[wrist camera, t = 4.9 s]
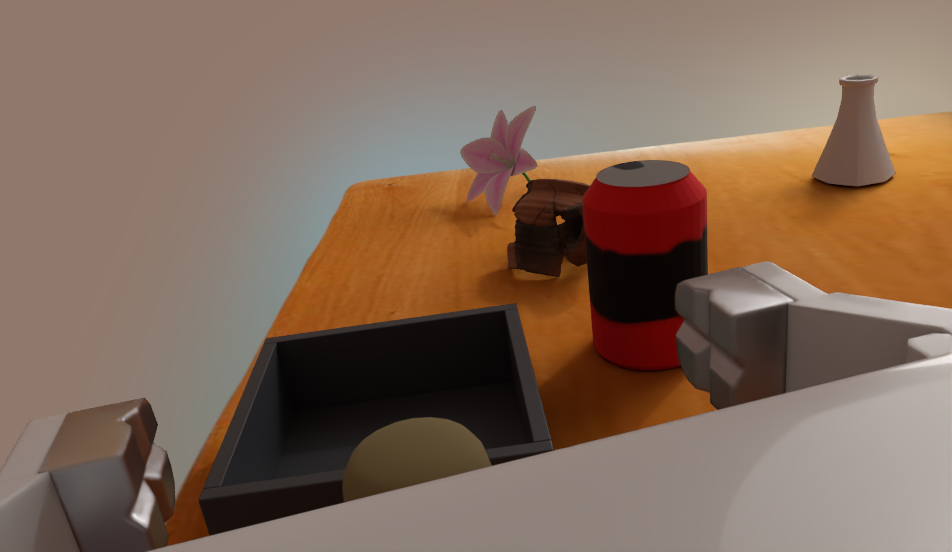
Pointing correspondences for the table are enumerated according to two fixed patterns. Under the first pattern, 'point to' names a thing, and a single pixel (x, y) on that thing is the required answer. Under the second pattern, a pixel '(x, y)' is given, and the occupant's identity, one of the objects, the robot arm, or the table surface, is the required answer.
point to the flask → (855, 139)
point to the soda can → (642, 258)
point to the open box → (368, 406)
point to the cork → (411, 456)
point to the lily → (499, 158)
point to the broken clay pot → (549, 227)
